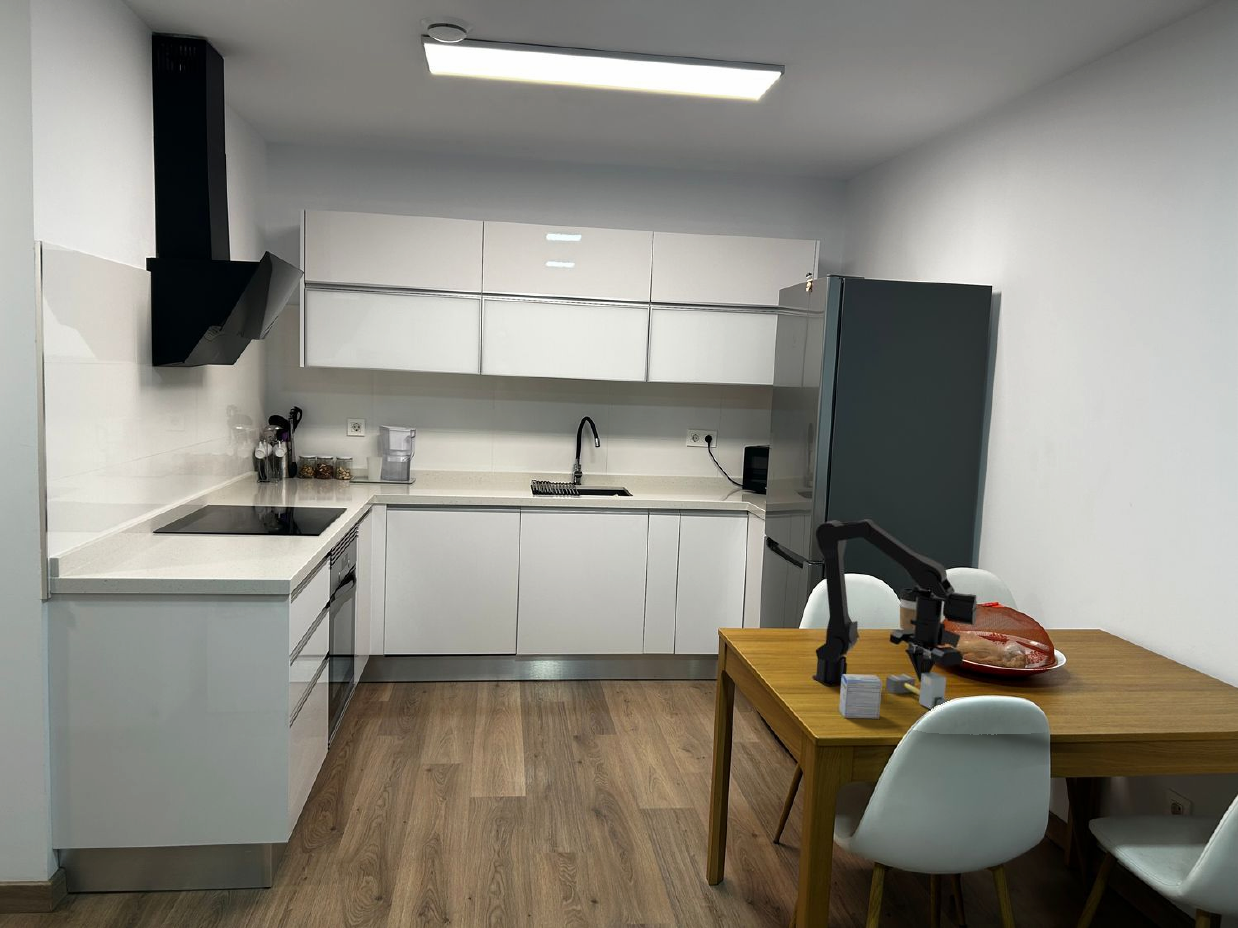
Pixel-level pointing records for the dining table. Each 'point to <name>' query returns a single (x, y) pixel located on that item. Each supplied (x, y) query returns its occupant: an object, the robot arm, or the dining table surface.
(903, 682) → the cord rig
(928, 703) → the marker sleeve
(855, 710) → the medicine box
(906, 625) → the coffee cup
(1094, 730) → the dining table surface
